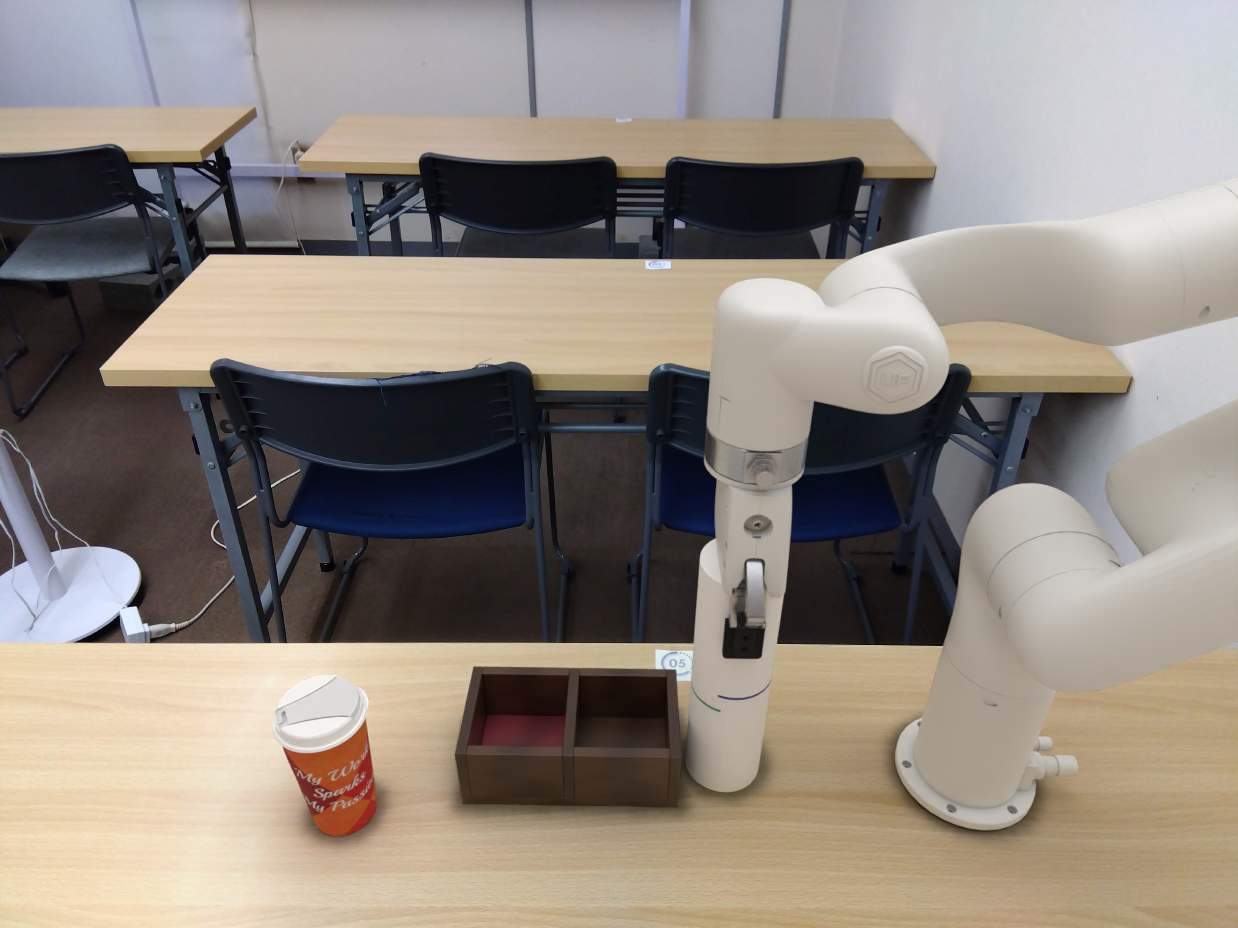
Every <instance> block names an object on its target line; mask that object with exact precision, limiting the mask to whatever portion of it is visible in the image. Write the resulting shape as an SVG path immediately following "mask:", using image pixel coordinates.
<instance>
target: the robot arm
mask: <svg viewBox="0 0 1238 928" xmlns="http://www.w3.org/2000/svg"><path fill="white" fill-rule="evenodd" d="M1233 318H1238V176H1237V177H1234V178H1230V179H1227V180H1223V181H1219V182H1216V183H1212V184H1209V185H1206V186H1201V187H1198V188H1195V189H1192V190H1191V189H1190V190H1188V191H1184V192H1181V193H1177V194H1174V195H1170V196H1167V197H1164V198H1159V199H1157V200H1153V201H1149V202H1145V203H1141V204H1137V205H1133V206H1130V207H1126V208H1123V209H1120V210H1116V211H1111V212H1108V213H1104V214H1100V215H1095V216H1091V217H1086V218H1081V219H1069V220H1040V221H1039V220H1038V221H1028V222H1017V223H999V224H983V225H974V226H966V227H965V226H964V227H958V228H951V229H945V230H941V231H938V232H933V233H929V234H925V235H921V236H916V237H914V238H910V239H907V240H903V241H899V242H896V243H893V244H889V245H885V246H882V247H879V248H876V249H873V250H870V251H866V252H864V253H862V254H859V255H857V256H854V257H852V258H850V259H848V260H846V261H845V262H843V263H841V264H839V265H838V266H837V267H836V268H834V269H833V270H831V272H829V274H827V276H826V277H825V278H824V279H823V280H822V282H821V283H820V284H819V287H818V289H817V290H816V291H815V290H813V289H812V288H811V287H809V286H807V285H805V284H802V283H801V282H800V283H799V282H797V281H792V280H788V279H783V278H776V277H775V278H774V277H757V278H749V279H745V280H740V281H737V282H735V283H733V284H731V285H729V286H728V287H726V288H725V289H724V290H723V291H722V292H721V293H720V295H719V297H718V298H717V301H716V304H715V306H714V315H713V327H712V341H711V355H710V356H711V357H710V369H709V386H708V399H707V413H706V425H705V439H704V454H703V456H704V457H703V465H704V466H705V468H706V470H707V472H709V474H710V475H711V476H712V477H713V478H715V480H716V488H715V499H714V529H715V530H714V531H715V538H716V544H717V553H718V560H719V567H720V574H721V581H722V587H723V591H724V592H725V593H726V594H727V595H728V596H730V598H729V618H725V625H724V636H723V646H722V655H723V657H724V658H726V659H759V658H761V657H762V651H763V643H764V636H765V628H766V594H767V592H766V587H767V589H768V592H769V594H770V596H771V597H777V598H781V597H782V596H783V595H784V596H785V593H786V589H787V581H788V580H787V578H788V569H789V557H790V548H791V547H790V545H791V535H792V522H793V521H792V520H793V519H792V518H793V484H795V483H796V482H798V481H799V480H800V479H801V478H802V476H803V474H804V471H805V465H806V459H807V452H808V446H809V438H810V431H811V426H812V418H813V411H814V404H815V402H817V403H820V404H821V403H822V404H825V405H826V404H827V405H830V406H836V407H839V408H844V409H848V410H853V411H856V412H862V413H868V414H877V415H897V414H904V413H909V412H911V411H914V410H917V409H919V408H920V407H922V406H924V405H926V404H927V403H928V402H930V401H931V400H933V398H935V397H936V396H937V395H938V393H939V392H940V391H941V390H942V388H943V386H944V384H945V382H946V381H947V377H948V374H949V369H950V353H949V352H950V351H949V347H948V343H947V341H946V339H945V336H944V334H943V332H942V330H941V329H940V327H945V326H951V325H956V324H957V325H958V324H964V323H977V322H994V323H995V322H997V323H1007V324H1008V323H1010V324H1013V325H1020V326H1024V327H1028V328H1033V329H1036V330H1039V331H1042V332H1046V333H1049V334H1052V335H1056V336H1059V337H1061V338H1065V339H1069V340H1072V341H1077V342H1082V343H1086V344H1092V345H1097V346H1102V347H1103V346H1105V347H1119V346H1120V347H1121V346H1125V345H1129V344H1134V343H1137V342H1141V341H1144V340H1149V339H1153V338H1156V337H1157V338H1158V337H1161V336H1164V335H1168V334H1173V333H1177V332H1180V331H1181V332H1182V331H1185V330H1188V329H1193V328H1196V327H1200V326H1204V325H1209V324H1214V323H1217V322H1221V321H1226V320H1229V319H1233ZM1104 492H1105V496H1106V500H1107V503H1108V506H1109V507H1110V510H1111V511H1112V513H1113V515H1114V516H1115V518H1116V520H1117V521H1118V523H1119V524H1120V526H1121V527H1122V528H1123V530H1124V532H1125V533H1126V534H1127V537H1129V539H1130V541H1132V543H1133V544H1134V546H1135V547H1136V549H1137V550H1138V552H1140V554H1141V555H1142V556H1141V557H1139V558H1137V559H1135V560H1133V561H1131V562H1129V563H1126V564H1124V563H1123V562H1122V560H1121V558H1120V557H1119V555H1118V553H1117V551H1116V550H1115V548H1114V547H1113V545H1112V544H1111V542H1110V541H1109V540H1108V538H1107V537H1106V535H1105V534H1104V532H1103V531H1102V530H1101V528H1100V527H1099V524H1097V522H1096V521H1095V520H1094V518H1093V517H1092V516H1091V515H1090V513H1089V512H1088V511H1087V509H1085V507H1084V506H1082V505H1081V504H1080V503H1079V502H1078V501H1077V500H1076V499H1075V498H1073V497H1072V496H1071V495H1070V494H1068V493H1066V492H1064V491H1062V490H1060V489H1059V488H1056V487H1053V486H1050V485H1046V484H1042V483H1034V482H1027V483H1025V482H1024V483H1018V484H1013V485H1009V486H1006V487H1004V488H1002V489H999V490H998V491H996V492H994V493H993V494H991V495H990V496H989V497H988V498H987V499H985V500H984V501H983V502H982V503H981V504H980V505H979V506H978V508H977V509H976V510H975V512H974V513H973V514H972V517H971V518H970V520H969V522H968V525H967V526H966V530H965V533H964V536H963V541H962V546H961V552H960V561H959V572H958V580H957V581H958V583H957V591H956V596H955V602H954V606H953V609H952V610H953V611H952V615H951V618H950V622H949V625H948V629H947V633H946V636H945V638H944V641H943V644H942V648H941V652H940V655H939V658H938V662H937V666H936V669H935V672H934V676H933V679H932V683H931V685H930V689H929V694H928V697H927V700H926V704H925V708H924V711H923V714H922V717H919V718H917V719H915V720H913V721H912V722H910V723H909V724H908V725H907V726H905V728H904V729H903V730H902V732H901V733H900V735H899V738H898V740H897V742H896V747H895V751H894V763H895V767H896V772H897V775H898V776H899V778H900V781H901V783H902V784H903V786H904V787H905V789H906V790H907V791H908V793H909V794H910V795H911V797H912V798H914V799H915V800H916V802H917V803H919V804H920V805H921V806H922V807H923V808H924V809H926V810H927V811H929V812H930V813H932V815H935V816H936V817H938V818H940V819H942V820H943V821H946V822H948V823H950V824H953V825H956V826H959V827H962V828H966V829H970V830H978V831H995V830H1001V829H1005V828H1008V827H1009V828H1010V827H1012V826H1013V825H1015V824H1017V823H1018V822H1020V821H1021V820H1022V819H1023V818H1024V817H1026V816H1027V814H1028V812H1029V811H1030V809H1031V807H1032V804H1033V802H1034V799H1035V796H1036V790H1037V789H1036V788H1037V785H1036V780H1043V779H1044V778H1045V776H1054V777H1055V778H1058V777H1060V778H1075V777H1077V776H1078V774H1079V764H1078V761H1077V759H1076V757H1075V756H1074V755H1071V754H1051V755H1042V753H1040V752H1052V751H1053V747H1054V746H1053V740H1052V738H1051V737H1050V736H1048V735H1047V736H1046V735H1045V736H1044V735H1043V736H1040V734H1041V731H1042V729H1043V726H1044V723H1045V721H1046V719H1047V716H1048V714H1049V712H1050V710H1051V706H1052V704H1053V702H1054V699H1055V696H1056V694H1057V692H1060V693H1067V694H1088V693H1094V692H1100V691H1105V690H1108V689H1113V688H1116V687H1119V686H1122V685H1125V684H1128V683H1132V682H1134V681H1137V680H1140V679H1143V678H1145V677H1148V676H1151V675H1153V674H1156V673H1159V672H1161V671H1164V670H1166V669H1170V668H1173V667H1175V666H1178V665H1180V664H1183V663H1185V662H1188V661H1191V660H1193V659H1196V658H1198V657H1202V656H1204V655H1207V654H1209V653H1213V652H1215V651H1217V650H1220V649H1223V648H1226V647H1228V646H1231V645H1233V644H1236V643H1238V397H1237V398H1235V399H1233V400H1231V401H1229V402H1226V403H1225V404H1222V405H1220V406H1218V407H1216V408H1214V409H1212V410H1210V411H1208V412H1205V413H1203V414H1201V415H1199V416H1197V417H1195V418H1192V419H1191V420H1189V421H1186V422H1184V423H1182V424H1180V425H1178V426H1176V427H1174V428H1172V429H1169V430H1168V431H1164V432H1163V433H1160V434H1158V435H1157V436H1154V437H1153V438H1151V439H1148V440H1147V441H1144V442H1142V443H1140V444H1139V445H1138V446H1135V447H1133V448H1132V449H1130V450H1128V451H1126V453H1124V454H1123V455H1121V456H1120V457H1119V458H1118V459H1116V461H1115V462H1113V464H1112V466H1111V467H1110V469H1109V470H1108V472H1107V474H1106V477H1105V482H1104ZM742 579H745V588H743V587H738V585H739V584H740V582H741V581H742ZM738 597H745V601H746V605H745V610H744V612H743V611H740V612H738Z"/></svg>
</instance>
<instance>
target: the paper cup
mask: <svg viewBox="0 0 1238 928" xmlns="http://www.w3.org/2000/svg"><path fill="white" fill-rule="evenodd" d="M369 706H370V701H369V697H368V695H367V693H366V692H365V690H364V689H362V688H360V687H359V686H358V685H357V684H355V683H353V682H352V681H350V680H349V679H347V678H345V677H342V676H340V675H337V674H322V675H316V676H312V677H309V678H306V679H304V680H302V681H300V682H298V683H296V684H295V685H293V686H292V687H290V688H289V689H288V690H287V691H286V692H285V693H284V694H283V695H282V697H281V698H280V699H279V701H278V703H277V705H276V708H275V711H274V715H273V718H272V723H271V730H272V735H273V737H274V739H275V741H276V742H277V743H278V744H279V745H280V746H281V747H282V749H283V752H284V754H285V757H286V760H287V762H288V764H289V766H290V769H291V771H292V773H293V776H294V777H295V780H296V782H297V785H298V787H299V789H300V792H301V794H302V796H303V799H304V801H305V803H306V805H307V808H308V810H309V813H310V814H311V818H312V819H313V822H314V823H315V825H316V827H317V828H318V830H320V831H321V833H324V834H325V835H328V836H331V837H344V836H349V835H352V834H355V833H356V832H358V831H360V830H362V828H364V827H365V826H366V825H368V823H369V822H370V821H371V820H372V818H373V816H374V814H375V812H376V809H377V802H378V801H377V791H376V789H377V788H376V782H375V775H374V768H373V767H374V766H373V758H372V751H371V745H370V739H369V738H370V737H369V730H368V724H367V723H368V722H367V715H368V710H369Z"/></svg>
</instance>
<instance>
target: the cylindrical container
mask: <svg viewBox="0 0 1238 928" xmlns="http://www.w3.org/2000/svg"><path fill="white" fill-rule="evenodd" d="M698 564H699V565H698V579H697V594H696V607H695V620H694V632H693V633H694V635H693V647H692V661H691V672H690V673H691V675H690V685H689V686H690V687H689V688H690V689H689V702H688V713H687V715H688V717H687V729H686V740H685V741H686V743H685V756H684V761H685V767H686V769H687V771H688V773H689V774H690V776H691V778H692V779H693V780H694V781H696V783H697V784H699V785H700V786H702V787H704V788H706V789H708V790H710V791H714V792H718V793H733V792H738V791H741V790H743V789H745V788H747V787H748V786H749V785H751V784H752V782H754V780H755V779H756V777H757V775H758V772H759V769H760V768H759V767H760V761H761V755H762V747H763V739H764V734H765V727H766V719H767V715H768V706H769V701H770V700H769V699H770V693H771V685H772V680H773V673H774V672H773V671H774V667H775V658H776V651H777V644H778V638H779V631H780V625H781V617H782V612H783V611H782V610H783V604H784V598H785V597H784V596H785V594H784V595H783V596H782V597H781V598H777V597H771V596H770V594H769V592H768V589H767V587H766V592H767V594H766V628H765V636H764V643H763V651H762V657H761V658H759V659H726V658H724V657H723V655H722V646H723V636H724V625H725V618H729V598H730V596H728V595H727V594H726V593H725V592H724V591H723V587H722V581H721V574H720V567H719V560H718V553H717V544H716V537H715V538H714V539H712V540H710V541H708V542H707V543H706V544H705V545H704V546H703V548H702V550H701V551H700V554H699V563H698ZM738 587H743V588H745V579H742V581H741V582H740V584H739V585H738ZM745 605H746V601H745V597H738V612H740V611H743V612H744V610H745Z"/></svg>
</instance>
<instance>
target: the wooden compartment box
mask: <svg viewBox="0 0 1238 928" xmlns="http://www.w3.org/2000/svg"><path fill="white" fill-rule="evenodd" d="M677 675H678V674H677V669H675V668H674V669H672V668H667V669H666V668H617V667H616V668H613V667H611V668H610V667H555V666H553V667H551V666H547V667H546V666H545V667H544V666H539V667H538V666H534V667H533V666H485V665H484V666H478V665H477V666H476V665H475V666H473V667H472V671H471V676H470V681H469V685H468V689H467V695H466V699H465V703H464V710H463V714H462V717H461V722H460V727H459V732H458V736H457V740H456V745H455V751H454V759H455V767H456V771H457V772H456V773H457V779H458V785H459V792H460V796H461V797H460V798H461V803H462V804H473V805H475V804H476V805H477V804H481V805H534V806H535V805H537V806H538V805H539V806H540V805H541V806H546V805H547V806H596V807H597V806H599V807H601V806H603V807H654V808H655V807H657V808H658V807H659V808H678V807H679V797H680V782H681V780H680V779H681V769H682V767H681V766H682V748H681V747H682V746H681V745H682V744H681V729H680V728H681V727H680V726H681V725H680V708H679V693H678V690H679V689H678V676H677Z"/></svg>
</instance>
